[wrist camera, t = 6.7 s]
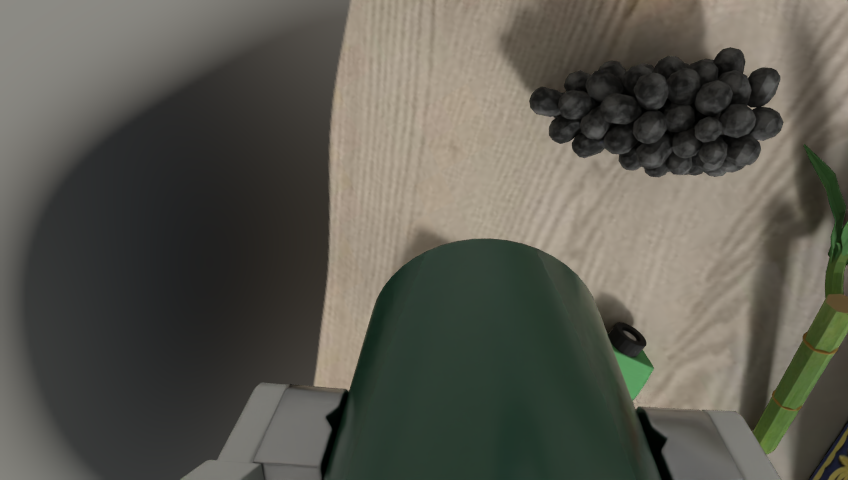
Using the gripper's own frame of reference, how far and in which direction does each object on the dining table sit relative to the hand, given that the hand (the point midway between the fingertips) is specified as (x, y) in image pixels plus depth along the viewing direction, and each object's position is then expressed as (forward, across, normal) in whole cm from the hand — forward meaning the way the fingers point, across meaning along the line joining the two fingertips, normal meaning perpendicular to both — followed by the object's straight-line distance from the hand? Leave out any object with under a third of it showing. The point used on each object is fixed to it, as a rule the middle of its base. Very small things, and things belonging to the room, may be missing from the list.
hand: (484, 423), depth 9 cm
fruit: (+33, -11, +1) cm, 34 cm away
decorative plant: (+32, -28, +19) cm, 47 cm away
